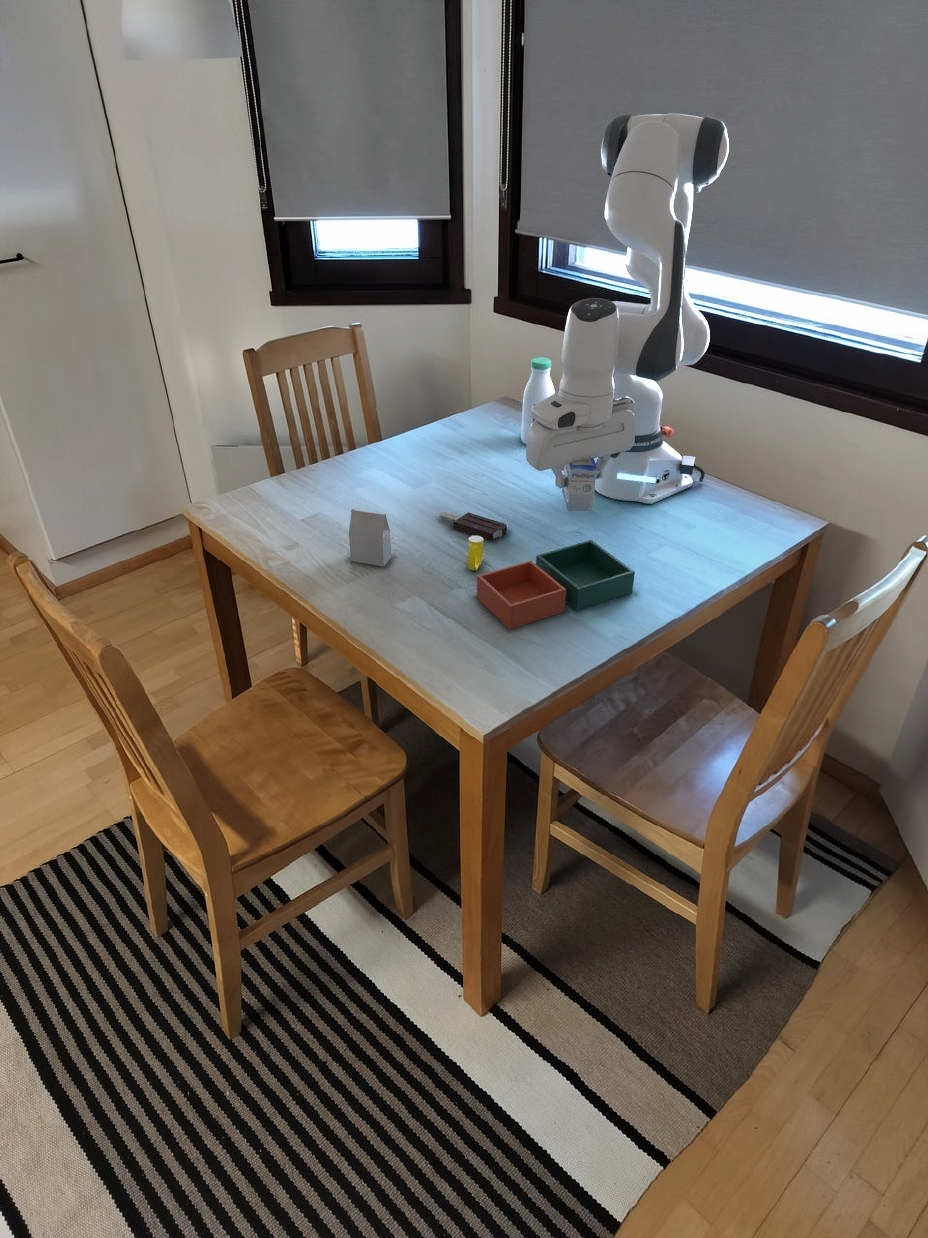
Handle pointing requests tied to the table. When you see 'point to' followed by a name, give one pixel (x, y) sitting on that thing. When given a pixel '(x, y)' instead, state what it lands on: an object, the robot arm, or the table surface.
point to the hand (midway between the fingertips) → (578, 482)
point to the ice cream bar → (477, 525)
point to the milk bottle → (536, 391)
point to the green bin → (587, 574)
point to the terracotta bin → (521, 594)
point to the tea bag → (369, 538)
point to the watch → (475, 552)
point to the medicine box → (580, 485)
